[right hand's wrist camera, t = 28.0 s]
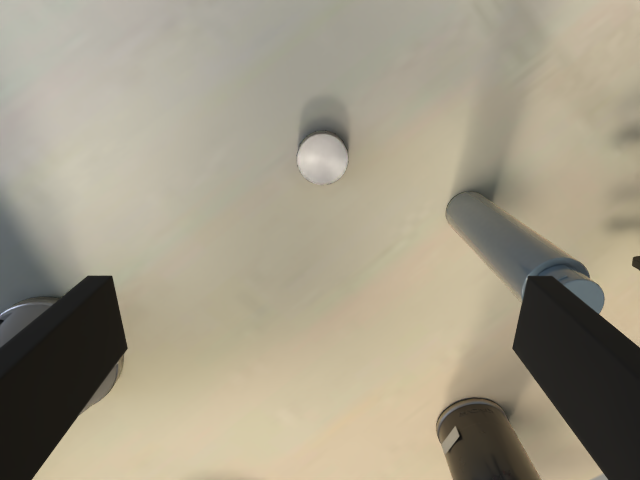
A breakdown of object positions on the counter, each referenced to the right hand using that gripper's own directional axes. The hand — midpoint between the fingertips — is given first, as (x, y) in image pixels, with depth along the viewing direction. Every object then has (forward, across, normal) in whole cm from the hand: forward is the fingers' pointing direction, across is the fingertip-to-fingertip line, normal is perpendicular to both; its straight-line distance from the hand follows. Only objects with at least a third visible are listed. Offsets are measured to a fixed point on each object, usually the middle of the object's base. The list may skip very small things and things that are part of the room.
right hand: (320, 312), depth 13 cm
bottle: (+30, +16, -6) cm, 34 cm away
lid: (+28, 0, 0) cm, 28 cm away
